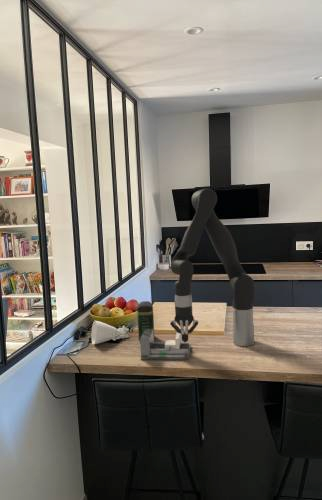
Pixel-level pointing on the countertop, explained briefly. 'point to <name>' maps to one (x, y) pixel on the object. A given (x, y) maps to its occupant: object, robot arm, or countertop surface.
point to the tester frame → (161, 349)
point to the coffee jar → (145, 317)
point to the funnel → (106, 332)
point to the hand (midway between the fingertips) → (185, 341)
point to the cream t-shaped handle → (173, 342)
